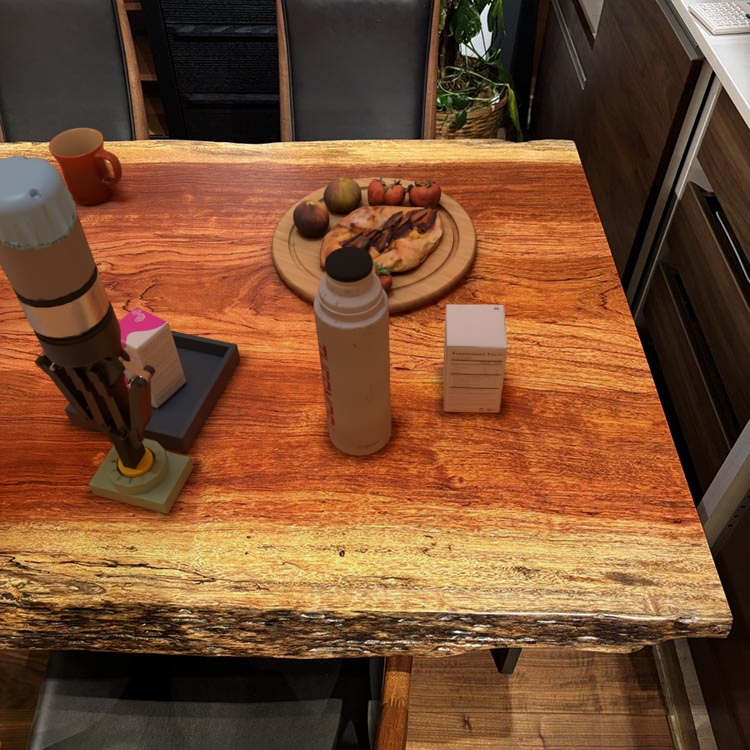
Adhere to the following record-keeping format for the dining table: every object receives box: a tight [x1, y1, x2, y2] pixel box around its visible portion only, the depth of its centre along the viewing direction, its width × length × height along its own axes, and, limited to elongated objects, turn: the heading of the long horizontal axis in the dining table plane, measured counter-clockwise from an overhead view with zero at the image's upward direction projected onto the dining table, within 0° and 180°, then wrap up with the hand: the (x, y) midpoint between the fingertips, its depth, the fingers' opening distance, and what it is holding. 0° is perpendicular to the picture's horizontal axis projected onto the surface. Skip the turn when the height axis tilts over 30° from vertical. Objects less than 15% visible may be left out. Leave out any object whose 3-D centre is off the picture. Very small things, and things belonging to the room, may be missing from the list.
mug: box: [48, 127, 123, 206], centre depth 133 cm, size 12×9×10 cm
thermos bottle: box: [313, 247, 393, 457], centre depth 91 cm, size 8×8×28 cm
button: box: [118, 448, 155, 478], centre depth 95 cm, size 4×4×2 cm
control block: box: [88, 438, 194, 515], centre depth 96 cm, size 10×7×4 cm
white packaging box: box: [442, 303, 509, 414], centre depth 101 cm, size 7×7×13 cm
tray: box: [64, 330, 241, 454], centre depth 106 cm, size 17×17×3 cm
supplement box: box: [118, 306, 187, 411], centre depth 103 cm, size 6×6×12 cm
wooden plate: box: [270, 176, 478, 314], centre depth 123 cm, size 32×32×8 cm
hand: (134, 458), depth 94 cm, fingers closed
